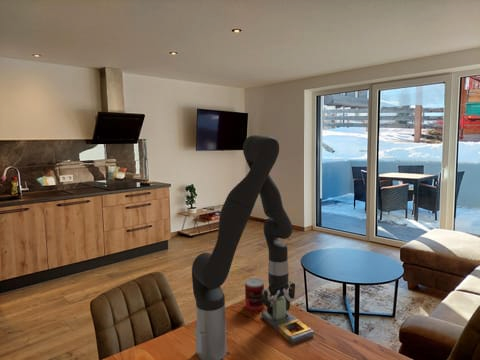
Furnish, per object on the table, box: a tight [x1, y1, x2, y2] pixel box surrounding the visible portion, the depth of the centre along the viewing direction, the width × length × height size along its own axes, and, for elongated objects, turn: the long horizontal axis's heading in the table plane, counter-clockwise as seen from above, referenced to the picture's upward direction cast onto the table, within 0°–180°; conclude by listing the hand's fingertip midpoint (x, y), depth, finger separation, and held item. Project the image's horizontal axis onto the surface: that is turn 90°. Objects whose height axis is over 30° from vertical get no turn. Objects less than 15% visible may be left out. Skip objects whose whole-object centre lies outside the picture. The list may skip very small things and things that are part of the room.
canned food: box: [244, 277, 265, 313], centre depth 140 cm, size 8×8×11 cm
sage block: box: [272, 296, 287, 320], centre depth 130 cm, size 4×4×9 cm
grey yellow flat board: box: [261, 310, 314, 345], centre depth 126 cm, size 9×20×2 cm, turn 27°
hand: (278, 311), depth 130 cm, fingers open, 7 cm apart
